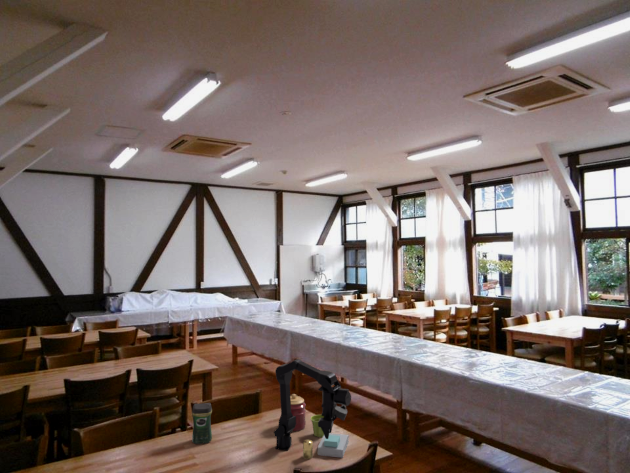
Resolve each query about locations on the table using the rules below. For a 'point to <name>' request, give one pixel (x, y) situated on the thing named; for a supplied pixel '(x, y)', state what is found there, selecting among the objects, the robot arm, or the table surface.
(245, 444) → the table surface
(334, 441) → the teal block
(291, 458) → the table surface
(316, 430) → the plant pot
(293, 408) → the canister
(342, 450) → the jig
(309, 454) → the brass cylinder
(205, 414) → the coffee jar
